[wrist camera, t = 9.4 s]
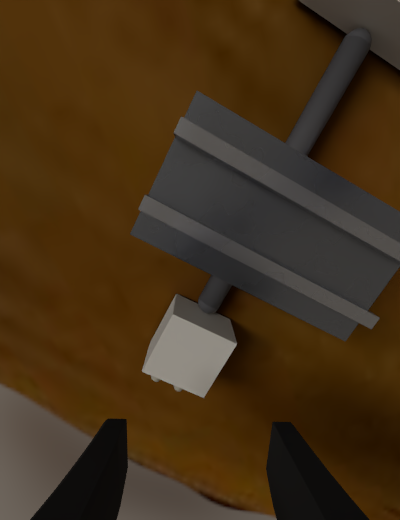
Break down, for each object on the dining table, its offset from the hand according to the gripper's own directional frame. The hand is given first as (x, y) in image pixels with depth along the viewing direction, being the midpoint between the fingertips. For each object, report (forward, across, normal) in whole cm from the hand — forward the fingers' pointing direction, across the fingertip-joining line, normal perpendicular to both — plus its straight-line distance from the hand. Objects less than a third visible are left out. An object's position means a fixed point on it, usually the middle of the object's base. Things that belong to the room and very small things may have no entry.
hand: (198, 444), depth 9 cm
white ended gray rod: (+9, -3, -7) cm, 12 cm away
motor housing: (+9, -3, -7) cm, 12 cm away
